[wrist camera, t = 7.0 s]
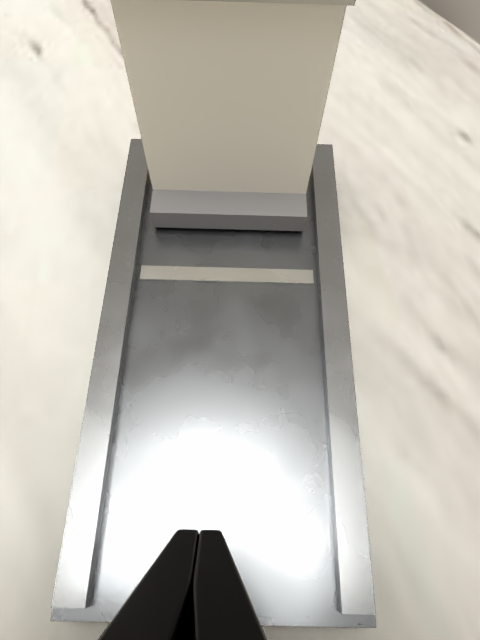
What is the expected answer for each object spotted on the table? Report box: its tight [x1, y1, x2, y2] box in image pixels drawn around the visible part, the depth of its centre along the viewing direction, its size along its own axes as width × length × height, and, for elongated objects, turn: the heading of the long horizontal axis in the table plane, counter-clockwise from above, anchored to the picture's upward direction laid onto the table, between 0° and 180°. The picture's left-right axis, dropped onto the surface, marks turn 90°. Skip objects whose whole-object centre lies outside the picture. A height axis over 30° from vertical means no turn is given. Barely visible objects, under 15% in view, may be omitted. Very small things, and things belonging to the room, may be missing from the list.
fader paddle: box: [111, 0, 356, 231], centre depth 20 cm, size 5×8×12 cm, turn 89°
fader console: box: [51, 139, 376, 628], centre depth 23 cm, size 24×12×3 cm, turn 179°
